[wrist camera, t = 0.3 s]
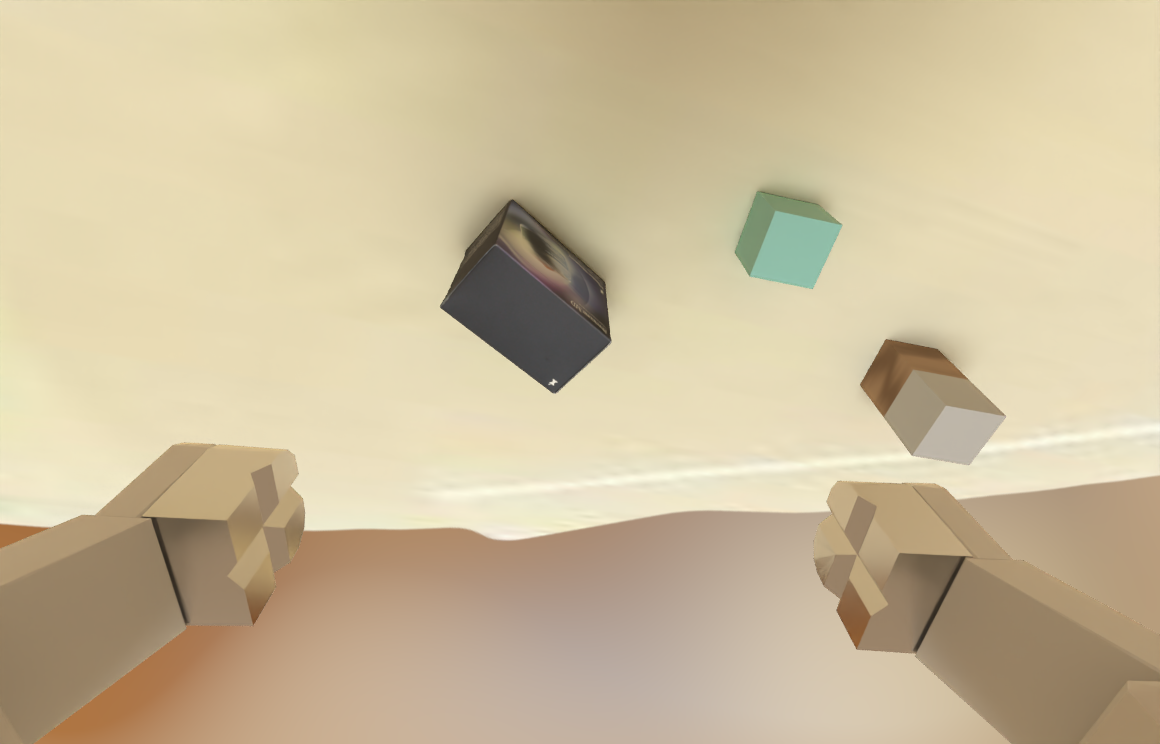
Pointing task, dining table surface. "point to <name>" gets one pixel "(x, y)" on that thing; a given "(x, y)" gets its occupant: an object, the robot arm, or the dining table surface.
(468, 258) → the small box
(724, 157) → the dining table surface
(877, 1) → the dining table surface
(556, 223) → the dining table surface
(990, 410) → the grey mid block
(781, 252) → the teal cube
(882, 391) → the walnut base block
